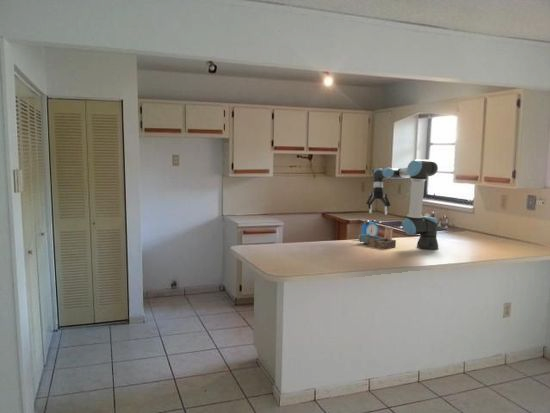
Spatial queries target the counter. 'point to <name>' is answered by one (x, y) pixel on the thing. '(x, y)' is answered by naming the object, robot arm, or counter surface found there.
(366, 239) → the tray
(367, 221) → the alarm clock
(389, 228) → the canister
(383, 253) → the counter surface
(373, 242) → the stand
